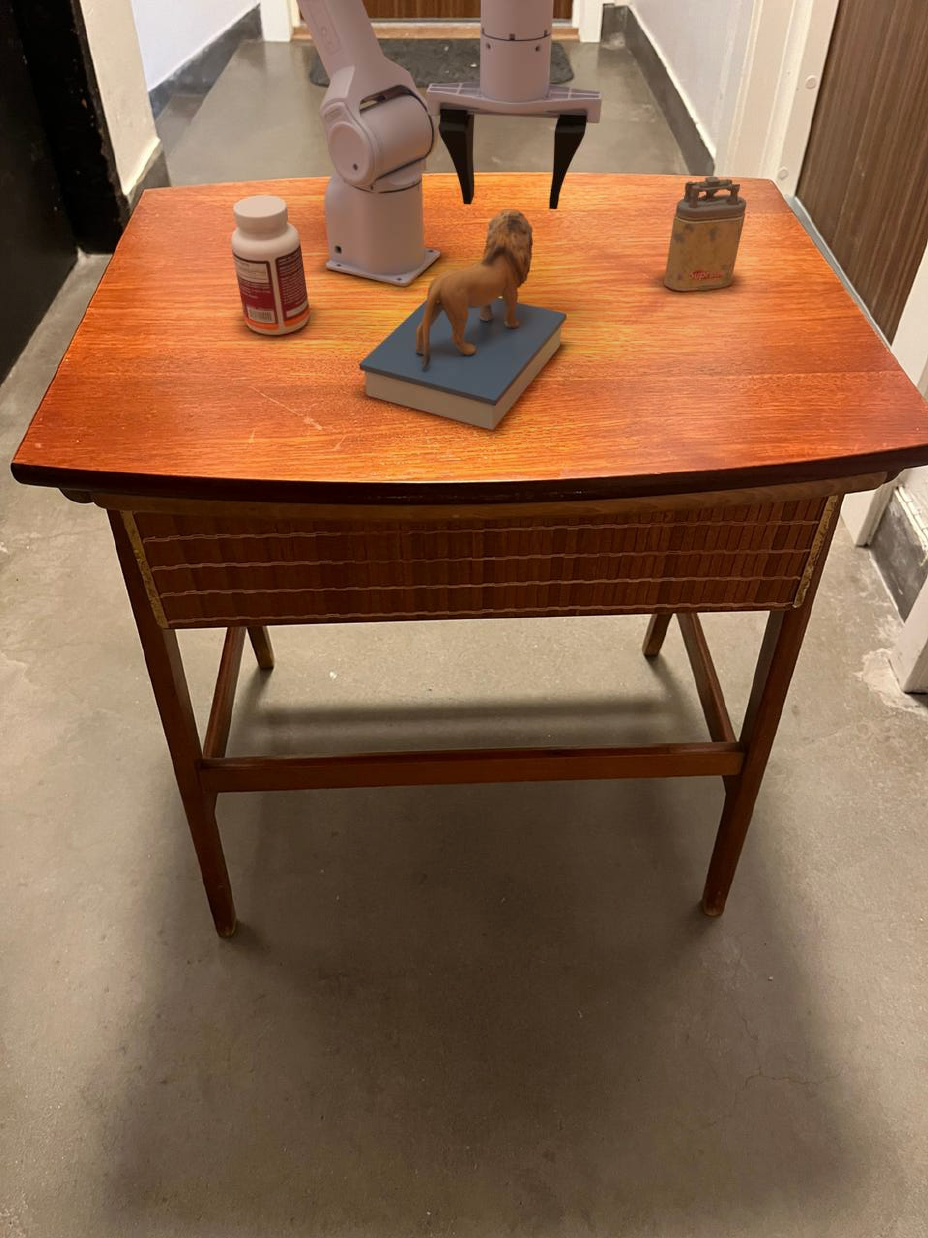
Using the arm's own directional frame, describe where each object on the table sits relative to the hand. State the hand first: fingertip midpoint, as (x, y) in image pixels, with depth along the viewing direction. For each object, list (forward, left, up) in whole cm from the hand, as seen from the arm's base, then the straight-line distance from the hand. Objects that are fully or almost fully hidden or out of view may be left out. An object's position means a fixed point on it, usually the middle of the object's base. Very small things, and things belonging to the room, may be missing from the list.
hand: (511, 202), depth 88 cm
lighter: (+15, +13, -11) cm, 23 cm away
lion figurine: (+1, -10, -7) cm, 13 cm away
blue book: (+1, -12, -10) cm, 16 cm away
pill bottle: (-19, -12, -11) cm, 25 cm away
